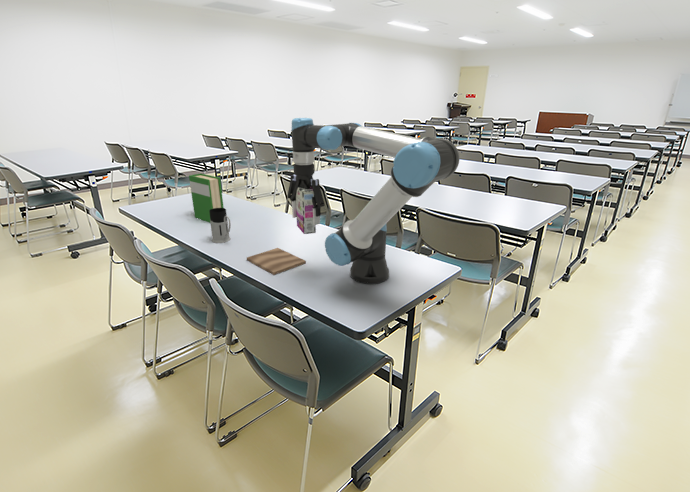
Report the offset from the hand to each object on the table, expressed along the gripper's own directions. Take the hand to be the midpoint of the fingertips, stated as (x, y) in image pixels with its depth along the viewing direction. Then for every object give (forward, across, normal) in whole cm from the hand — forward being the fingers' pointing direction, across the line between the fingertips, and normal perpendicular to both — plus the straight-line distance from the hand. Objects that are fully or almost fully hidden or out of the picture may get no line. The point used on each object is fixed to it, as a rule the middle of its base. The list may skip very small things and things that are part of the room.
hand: (305, 220), depth 147 cm
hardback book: (+21, -90, +3) cm, 93 cm away
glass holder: (+21, -53, -8) cm, 58 cm away
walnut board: (+21, -16, -4) cm, 27 cm away
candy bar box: (+4, 0, 0) cm, 4 cm away
